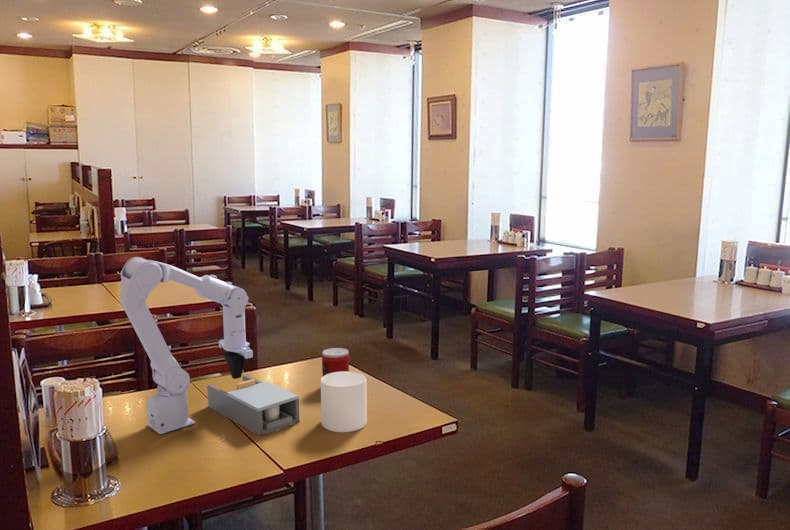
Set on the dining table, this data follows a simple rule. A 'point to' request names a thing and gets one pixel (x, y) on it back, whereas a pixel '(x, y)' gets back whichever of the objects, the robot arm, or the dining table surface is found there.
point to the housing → (251, 411)
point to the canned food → (335, 360)
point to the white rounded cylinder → (271, 414)
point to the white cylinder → (343, 401)
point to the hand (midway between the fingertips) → (236, 377)
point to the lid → (261, 395)
